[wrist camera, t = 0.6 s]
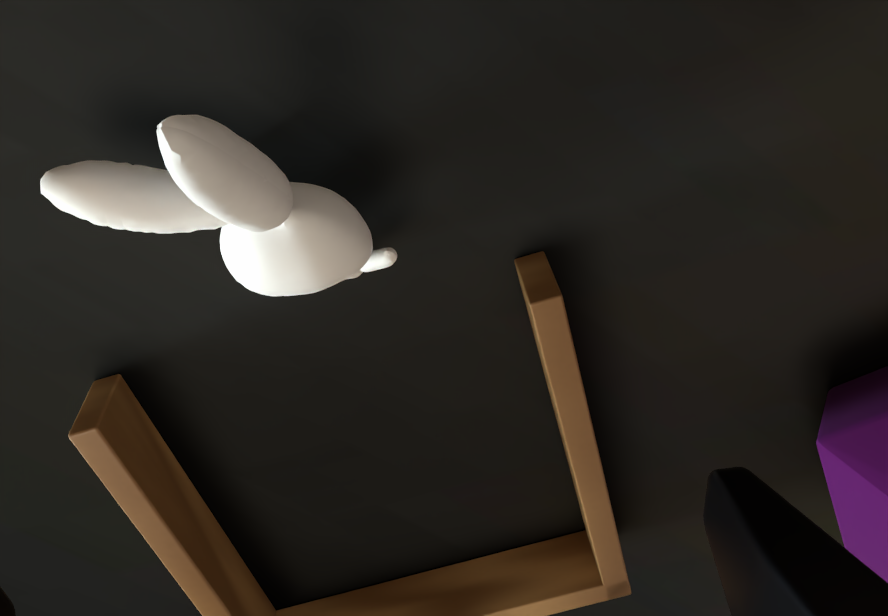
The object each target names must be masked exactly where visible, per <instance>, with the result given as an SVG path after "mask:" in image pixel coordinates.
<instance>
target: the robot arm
mask: <svg viewBox="0 0 888 616" xmlns="http://www.w3.org/2000/svg"><path fill="white" fill-rule="evenodd" d="M704 525H705V530H706V534H707V537H708V540H709V544H710V547H711V550H712V553H713V556H714V560H715V563H716V566H717V569H718V573H719V576H720V579H721V582H722V586H723V589H724V592H725V595H726V599H727V602H728V605H729V608H730V612H731V615H732V616H888V583H887V582H886V581H885V580H883V579H882V578H881V577H880V576H879V575H877V574H876V573H875V572H874V571H872V570H871V569H870V568H869V567H867V566H866V565H865V564H864V563H863V562H861V561H860V560H859V559H858V558H856V557H855V556H854V555H853V554H852V553H850V552H849V551H848V550H847V549H845V548H844V547H843V546H842V545H840V544H839V543H838V542H837V541H836V540H834V539H833V538H832V537H831V536H829V535H828V534H827V533H826V532H824V531H823V530H822V529H821V528H820V527H818V526H817V525H816V524H815V523H813V522H812V521H811V520H810V519H808V518H807V517H806V516H805V515H804V514H802V513H801V512H800V511H799V510H797V509H796V508H795V507H794V506H792V505H791V504H790V503H789V502H788V501H786V500H785V499H784V498H783V497H781V496H780V495H779V494H778V493H776V492H775V491H774V490H773V489H772V488H770V487H769V486H768V485H767V484H765V483H764V482H763V481H762V480H761V479H759V478H758V477H757V476H756V475H754V474H753V473H752V472H751V471H749V470H748V469H746V468H743V467H733V468H725V469H718V470H714V471H712V472H711V473H710V475H709V478H708V484H707V491H706V499H705V506H704ZM0 616H16V615H15V609H14V606H13V604H12V602H11V600H10V599H9V598H8V596H7V595H6V594H5V592H4V591H3V590H2V588H1V587H0Z"/></svg>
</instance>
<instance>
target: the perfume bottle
mask: <svg viewBox="0 0 888 616" xmlns="http://www.w3.org/2000/svg"><path fill="white" fill-rule="evenodd" d="M816 445H817V449H818V452H819V456H820V460H821V463H822V467H823V471H824V474H825V478H826V481H827V485H828V489H829V492H830V496H831V499H832V503H833V507H834V510H835V514H836V517H837V521H838V525H839V528H840V532H841V536H842V539H843V543H844V546H845V549H847V550H848V551H849V552H850V553H852V554H853V555H854V556H855V557H856V558H858V559H859V560H860V561H861V562H863V563H864V564H865V565H866V566H867V567H869V568H870V569H871V570H872V571H874V572H875V573H876V574H877V575H879V576H880V577H881V578H882V579H883V580H885V581H886V582H887V583H888V366H886V367H884V368H881V369H879V370H876V371H874V372H871V373H869V374H866V375H864V376H861V377H859V378H856V379H853V380H851V381H848V382H846V383H843V384H841V385H838V386H836V387H833V388H832V389H831V390H829V391H828V394H827V398H826V402H825V407H824V411H823V415H822V420H821V424H820V428H819V433H818V437H817V441H816Z"/></svg>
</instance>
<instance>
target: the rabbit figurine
mask: <svg viewBox="0 0 888 616" xmlns="http://www.w3.org/2000/svg"><path fill="white" fill-rule="evenodd" d="M157 128H158V129H157V130H156V132H157V138H158V143H159V148H160V151H161V154H162V157H163V159H164V162H165V165H166V167H167V169H168V171H167V170H163V169H158V168H152V167H147V166H142V165H131V164H129V163H116V162H112V161H106V160H104V161H92V160H88V161H82V162H78V163H74V164H70V165H62V166H59V167H56V168H53V169H51V170H49V171H47V172H46V173H45V174H44V176H43V177H42V179H41V180H40V184H41V193H42V194H43V195H44V196H45V197H46V198H47V199H49V200H50V201H51V202H52V203H53V205H54V206H56V207H57V208H59V209H60V210H61V211H64V212H67V213H70V214H72V215H74V216H76V217H78V218H80V219H85V220H88V221H90V222H91V223H93V224H96V225H100V226H109V227H111V228H113V229H121V230H122V229H127V230H130V231H134V232H135V231H141V232H145V233H148V232H155V233H182V232H193V231H196V230H203V229H217V228H219V227H222V229H221V235H220V250H221V254H222V257H223V260H224V262H225V265H226V267H227V268H228V270H229V271H230V273H231V274H232V275H233V277H234V278H235V279H236V281H238V282H239V283H241V284H242V285H243V286H244V287H246V288H247V289H249V290H251V291H253V292H256V293H259V294H262V295H268V296H293V295H303V294H310V293H315V292H318V291H321V290H323V289H326V288H328V287H331V286H333V285H335V284H337V283H339V282H341V281H343V280H345V279H352V278H356V277H358V276H360V275H361V274H362V272H371V271H375V270H379V269H383V268H386V267H389V266H391V265H392V264H393V263H394V262H395V261H396V259H397V252H396V251H395V250H394V249H393V248H390V247H388V248H381V249H378V250H373V242H372V236H371V232H370V230H369V228H368V226H367V224H366V222H365V221H364V219H363V218H362V216H361V215H360V213H359V212H358V211H357V210H356V208H355V207H353V206H352V205H351V204H350V203H349V202H348V201H347V200H346V199H345V198H343V197H342V196H340V195H339V194H337V193H335V192H334V191H332V190H330V189H327V188H324V187H321V186H317V185H314V184H308V183H297V182H289V181H288V179H287V177H286V176H285V174H284V173H283V172H282V171H281V170H280V169H279V167H278V166H277V165H276V164H275V163H274V162H273V161H272V160H271V159H270V158H269V157H268V156H267V155H265V154H263V153H262V152H261V151H259V150H258V149H257V148H256V147H255V146H254V145H252V144H251V143H249V142H250V141H249V142H248V141H246V140H245V139H243V138H241V137H240V136H238V135H237V134H235V133H234V132H233V131H231V130H230V129H229V128H227V127H225V126H224V125H222V124H220V123H218V122H216V121H214V120H212V119H209V118H206V117H203V116H200V115H175V116H170V117H168V118H166V119H164V120H162V121H161V122H160V123H159V124H158V125H157ZM372 250H373V251H372Z"/></svg>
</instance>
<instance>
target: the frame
mask: <svg viewBox="0 0 888 616" xmlns="http://www.w3.org/2000/svg"><path fill="white" fill-rule="evenodd" d="M514 262H515V266H516V270H517V274H518V277H519V281H520V285H521V289H522V292H523V296H524V300H525V304H526V308H527V311H528V315H529V319H530V323H531V326H532V330H533V334H534V338H535V341H536V345H537V349H538V353H539V356H540V360H541V364H542V368H543V371H544V375H545V379H546V383H547V386H548V390H549V394H550V398H551V401H552V405H553V409H554V413H555V416H556V420H557V424H558V428H559V431H560V435H561V439H562V443H563V446H564V450H565V454H566V458H567V461H568V465H569V469H570V473H571V476H572V480H573V484H574V488H575V491H576V495H577V499H578V503H579V506H580V510H581V514H582V518H583V521H584V525H585V529H586V530H584V531H580V532H577V533H573V534H569V535H565V536H561V537H557V538H553V539H550V540H546V541H542V542H538V543H534V544H530V545H527V546H523V547H519V548H515V549H511V550H507V551H503V552H500V553H496V554H492V555H488V556H484V557H480V558H477V559H473V560H469V561H465V562H461V563H457V564H453V565H450V566H446V567H442V568H438V569H434V570H430V571H427V572H423V573H419V574H415V575H411V576H407V577H403V578H400V579H396V580H392V581H388V582H384V583H380V584H377V585H373V586H369V587H365V588H361V589H357V590H354V591H350V592H346V593H342V594H338V595H334V596H330V597H327V598H323V599H319V600H315V601H311V602H307V603H304V604H300V605H296V606H292V607H288V608H284V609H280V610H277V611H276V610H275V608H274V607H273V605H272V604H271V602H270V601H269V599H268V598H267V596H266V595H265V593H264V592H263V590H262V589H261V587H260V586H259V584H258V582H257V581H256V579H255V578H254V576H253V575H252V573H251V572H250V570H249V569H248V567H247V566H246V564H245V563H244V561H243V560H242V558H241V557H240V555H239V554H238V552H237V551H236V549H235V548H234V546H233V545H232V543H231V541H230V540H229V538H228V537H227V535H226V534H225V532H224V531H223V529H222V528H221V526H220V525H219V523H218V522H217V520H216V519H215V517H214V516H213V514H212V513H211V511H210V510H209V508H208V507H207V505H206V504H205V502H204V501H203V499H202V497H201V496H200V494H199V493H198V491H197V490H196V488H195V487H194V485H193V484H192V482H191V481H190V479H189V478H188V476H187V475H186V473H185V472H184V470H183V469H182V467H181V466H180V464H179V463H178V461H177V460H176V458H175V456H174V455H173V453H172V452H171V450H170V449H169V447H168V446H167V444H166V443H165V441H164V440H163V438H162V437H161V435H160V434H159V432H158V431H157V429H156V428H155V426H154V425H153V423H152V422H151V420H150V419H149V417H148V415H147V414H146V412H145V411H144V409H143V408H142V406H141V405H140V403H139V402H138V400H137V399H136V397H135V396H134V394H133V393H132V391H131V390H130V388H129V387H128V385H127V384H126V382H125V381H124V379H123V378H122V376H121V375H120V374H117V375H113V376H110V377H106V378H103V379H99V380H96V381H94V382H93V384H92V386H91V388H90V390H89V392H88V394H87V396H86V399H85V401H84V403H83V405H82V407H81V409H80V411H79V413H78V415H77V417H76V419H75V422H74V424H73V426H72V428H71V430H70V432H69V434H68V436H69V439H70V440H71V441H72V443H73V444H74V445H75V447H76V448H77V449H78V451H79V452H80V453H81V455H82V456H83V457H84V459H85V460H86V461H87V463H88V464H89V465H90V467H91V468H92V469H93V471H94V472H95V473H96V475H97V476H98V477H99V479H100V480H101V481H102V483H103V484H104V485H105V487H106V488H107V489H108V491H109V492H110V493H111V495H112V496H113V497H114V499H115V500H116V501H117V503H118V504H119V505H120V507H121V508H122V509H123V511H124V512H125V513H126V515H127V516H128V517H129V519H130V520H131V521H132V523H133V524H134V525H135V527H136V528H137V529H138V531H139V532H140V533H141V535H142V536H143V537H144V539H145V540H146V541H147V543H148V544H149V545H150V547H151V548H152V549H153V551H154V552H155V553H156V555H157V556H158V557H159V559H160V560H161V561H162V563H163V564H164V565H165V567H166V568H167V569H168V571H169V572H170V573H171V575H172V576H173V577H174V579H175V580H176V581H177V583H178V584H179V585H180V587H181V588H182V589H183V591H184V592H185V593H186V595H187V596H188V597H189V599H190V600H191V601H192V602H193V604H194V605H195V606H196V608H197V609H198V610H199V612H200V613H201V614H202V616H547V615H551V614H555V613H559V612H563V611H567V610H571V609H575V608H579V607H583V606H587V605H591V604H595V603H599V602H603V601H606V600H610V599H614V598H618V597H622V596H626V595H630V594H631V588H630V584H629V580H628V575H627V571H626V567H625V562H624V558H623V554H622V550H621V545H620V541H619V537H618V532H617V528H616V524H615V520H614V515H613V511H612V507H611V502H610V498H609V494H608V489H607V485H606V481H605V477H604V472H603V468H602V464H601V459H600V455H599V451H598V447H597V442H596V438H595V434H594V429H593V425H592V421H591V416H590V412H589V408H588V404H587V399H586V395H585V391H584V386H583V382H582V378H581V374H580V369H579V365H578V361H577V356H576V352H575V348H574V343H573V339H572V335H571V331H570V326H569V322H568V318H567V313H566V309H565V305H564V300H563V296H562V294H561V291H560V289H559V286H558V284H557V282H556V279H555V277H554V274H553V272H552V270H551V267H550V265H549V262H548V260H547V258H546V255H545V253H544V252H543V251H541V252H538V253H534V254H531V255H527V256H524V257H520V258H517V259H515V260H514Z"/></svg>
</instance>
